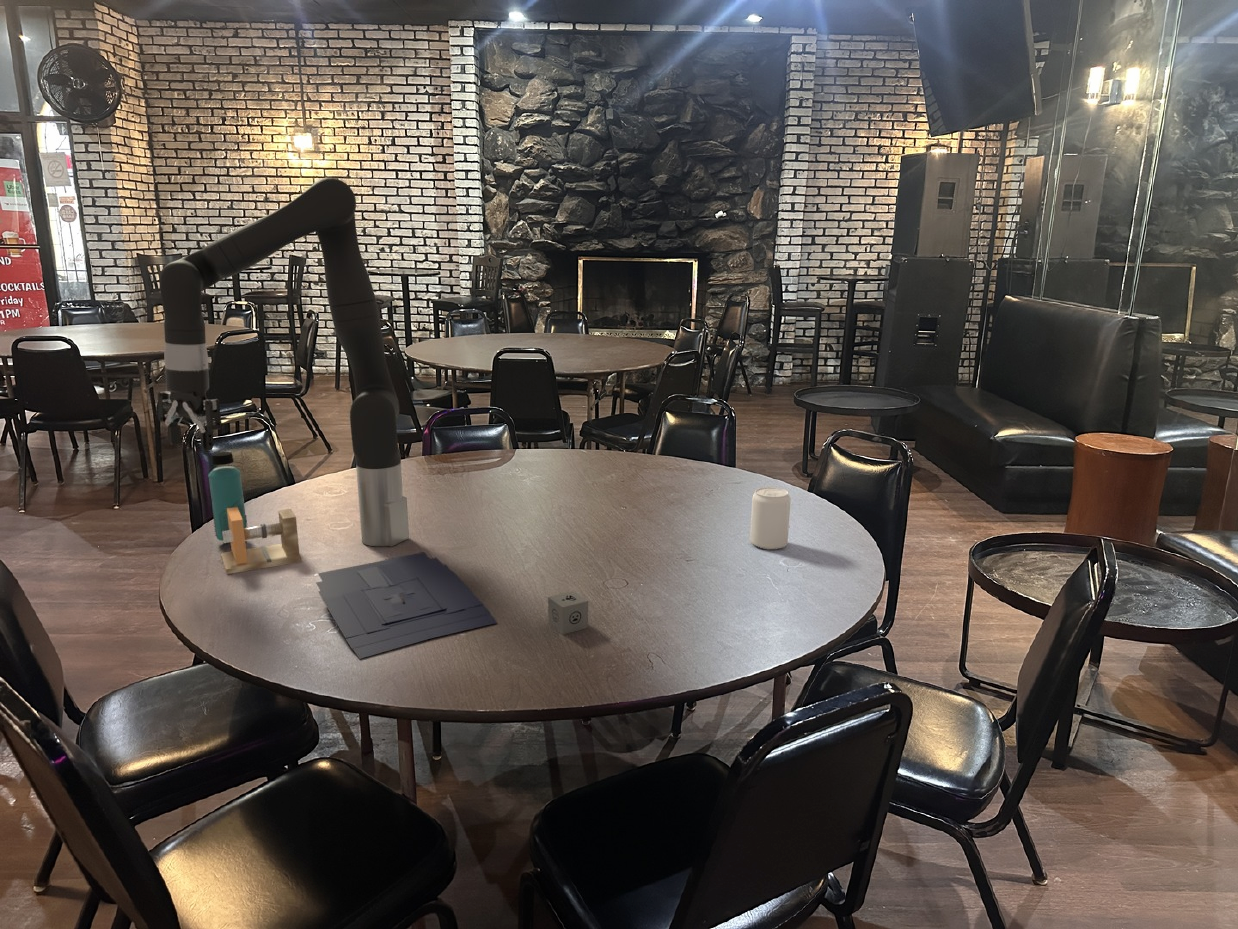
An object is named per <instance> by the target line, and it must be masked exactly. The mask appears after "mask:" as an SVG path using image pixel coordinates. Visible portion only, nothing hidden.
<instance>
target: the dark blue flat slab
mask: <svg viewBox="0 0 1238 929" xmlns="http://www.w3.org/2000/svg"><path fill="white" fill-rule="evenodd" d="M317 575H318V576H319V578H320V580H321V581H317V582H315V584H316V586H317V587H318V589H319V591H317V592H318V594H319V595H320V597H321V600H322V601H323V603H324V604H325V606H326V608H327V609H328V610H329V613H330V615H331V616H332V618H333V620H334V621H335V622H336V624H337V626H338V629H340V631H341V633H342V634H343V636H344V638H345V640H346V641H347V643H348V645H349V646H350V649H352V650H353V651H354V653H355V654H356V656H357V657H358V658H359V659H360V660H361V659H365V658H366V657H370V656H371V657H372V656H374V655H378V654H381V653H384V652H388V651H391V650H395V649H399V648H402V647H405V646H410V645H413V644H416V643H420V642H422V641H426V640H429V639H433V638H437V637H438V638H439V637H443V636H446V635H451V634H455V633H460V632H463V631H468V630H472V629H475V628H476V629H477V628H481V627H485V626H489V625H494V624H498V622H497V620H496V619H495V618H494V617H493V615H492V614H491V612H490V611H489V610H488V608H487V607H486V606H485V605H484V603H483V602H482V601H481V599H479V598H478V597H477V596H476V594H474V592H473V591H472V590H471V589H470V587H468V586H467V584H466V583H464V581H463V580H462V579H461V578H460V577H459V576H458V575H457V574H456V573H455V572H454V570H452V569H450V567H449V566H448V565H447V564H443V563H442V562H441V561H440V560H439V559H438V558H437V557H433V558H430V557H429V556H428V555H427V553H426V552H424V551H421V552H418V553H412V554H408V555H403V556H398V557H393V558H388V559H384V560H383V559H382V560H379V561H374V562H369V563H364V564H359V565H354V566H348V567H343V568H339V569H333V570H328V571H323V572H317Z"/></svg>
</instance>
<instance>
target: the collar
mask: <svg viewBox="0 0 1238 929" xmlns="http://www.w3.org/2000/svg"><path fill="white" fill-rule="evenodd" d="M227 515H228V524H229V530H232V538H233V542H230V548H231V552H232V553H233V556H234V559H235V561H236V564H242V563H247V554H246V549H247V547H246V540H245V536H244V527H243V519H242V517H241V514H240V512H239V510H238V507H233V508H227Z"/></svg>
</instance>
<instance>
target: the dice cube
mask: <svg viewBox="0 0 1238 929" xmlns="http://www.w3.org/2000/svg"><path fill="white" fill-rule="evenodd" d="M547 604H548V605H547V610H548V611H547V612H548V613H547V617H548V619H547V621H548V625H549V626H551V627H552V628H553V629H555V630H556V631H557V632H558V633H560V634H562V636H563V635H566V634H570V633H574V632H577V631H581V630H584V629H587V628H589V600H587V599H586V598H585V597H583V596H582V595H581V594H580V593H577V592H576V591H574V590H571V591H566V592H562V593H558V594H555V595H551V596H548V597H547Z"/></svg>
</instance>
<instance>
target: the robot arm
mask: <svg viewBox="0 0 1238 929" xmlns="http://www.w3.org/2000/svg"><path fill="white" fill-rule="evenodd" d="M356 210H357V199H356V194H354V191H353V189H352V188H351V187H350V186H349V184H347V183H346V182H345V181H343V180H341V179H339V178H335V177H323V178H319V179H318V180H316V181H315V182H313V183H312V184H311V185H310V186H309V188H307V189H306V190H304V192H302V193H301V194H299V195H298V196H297V197H296V198H294V199H293V200H292V201H289V203H287V204H285V205H283V206H281V207H280V208H279V209H277V210H275V211H274V212H271V213H270V214H267V215H265V216H263V217H260V218H258V219H256V220H255V221H252V222H249V223H248V224H246V225H244V226H240V227H239V228H237V229H235V230H233V231H231V232H229V233H227V234H224V235H223V236H221V237H219V238H217V239H215V240H212V242H210V243H209V244H207V245H206V246H205V247H203V248H202V249H199V250H196V251H194V252H192V253H191V254H188V255H185V256H183V257H182V258H180V259H177V260H175V261H171V262H169V263H167V264H166V265H165V266H163V268H162V269H161V271H160V274H159V292H160V298H161V300H160V301H161V304H162V305H161V306H162V310H163V314H164V315H163V316H164V319H163V320H164V321H163V330H164V357H163V358H164V370H165V371H164V372H165V373H164V375H165V388H166V390H167V391H159V392H158V393H157V409H158V410H157V415H158V416H157V417H158V421H159V422H163V423H164V424H165V426H167V436H168V437H167V439H168V441H169V442H168V443H169V444H170V445H173V446H175V445H180V444H181V443H182V432H181V431H182V430H181V428H182V427H181V425H180V423H181V421H182V419H183V418H187V419H189V420H191V421H192V423H193V424H195V425H196V426H197V427H198V429H199V430H200V432H199V435H200V436H199V438H200V450H201V451H202V452H208V451H209V452H210V451H212V450H213V448H214V432H215V431H217V430H221V429H222V427H223V426H222V415H221V404H220V400H219V399H218V398H215V399H208V398H207V395H206V393H207V391H208V390H209V389H210V376H209V356H208V349H207V343H206V342H207V341H206V338H207V337H206V325H205V324H206V323H205V317H204V316H203V311H202V310H203V308H202V307H203V306H202V292H203V291H205V290H207V289H208V288H210V287H212V286H214V285H216V284H218V283H219V282H221V281H222V280H224V279H227V278H230V277H233V276H235V275H238V274H239V273H240V274H241V272H244V271H245V270H247V269H249V268H251V267H254V266H255V265H256V264H258V263H260V262H261V261H264V260H266V259H267V258H269V257H270V256H272V255H273V254H275V253H277V252H278V251H280V250H281V249H283V248H285V247H286V246H288V245H289V244H291V243H293V242H295V241H297V240H299V239H301V238H303V237H306V236H307V235H310V234H313V233H315V232H316V235H317V239H318V242H319V245H320V248H321V253H322V259H323V264H324V265H323V266H324V278H325V287H326V294H327V301H328V306H329V309H330V315H331V320H332V323H333V328H334V330H335V334H336V336H337V339H338V341H339V343H340V345H341V347H342V349H343V351H344V353H345V355H346V357H347V359H348V362H349V365H350V367H351V371H352V377H353V382H354V390H355V399H354V400H353V401H352V403H351V406H350V411H349V421H350V422H349V424H350V434H351V442H352V443H351V444H352V452H353V454H354V458H355V469H356V481H357V493H358V494H357V495H358V507H359V508H358V509H359V520H360V521H359V524H360V531H361V532H360V533H361V542H362V544H363V545H367V546H369V547H370V546H371V547H394V546H396V545H397V544H400V543H402V542H404V541H406V540H408V539H410V529H409V528H410V527H409V526H410V525H409V512H408V511H409V510H408V508H409V507H408V499H407V496H404V495H403V494H404V492H403V476H402V474H403V473H402V459H401V458H402V457H401V455H402V454H401V450H400V448H399V443H398V427H397V420H398V418H399V415H400V403H399V399H398V397H397V393H396V390H395V387H394V385H393V382H392V378H391V375H390V370H389V368H388V365H387V360H386V353H385V344H384V338H383V330H382V324H381V319H380V313H379V309H378V304H377V300H376V299H377V298H376V296H375V294H376V293H375V290H374V287H373V285H372V282H371V279H370V278H371V277H370V275H369V271H368V270H367V267H366V265H365V261H364V259H363V256H362V254H361V251H360V246H359V238H358V232H357V226H356ZM165 411H166V414H165ZM205 424H206V425H205Z"/></svg>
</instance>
